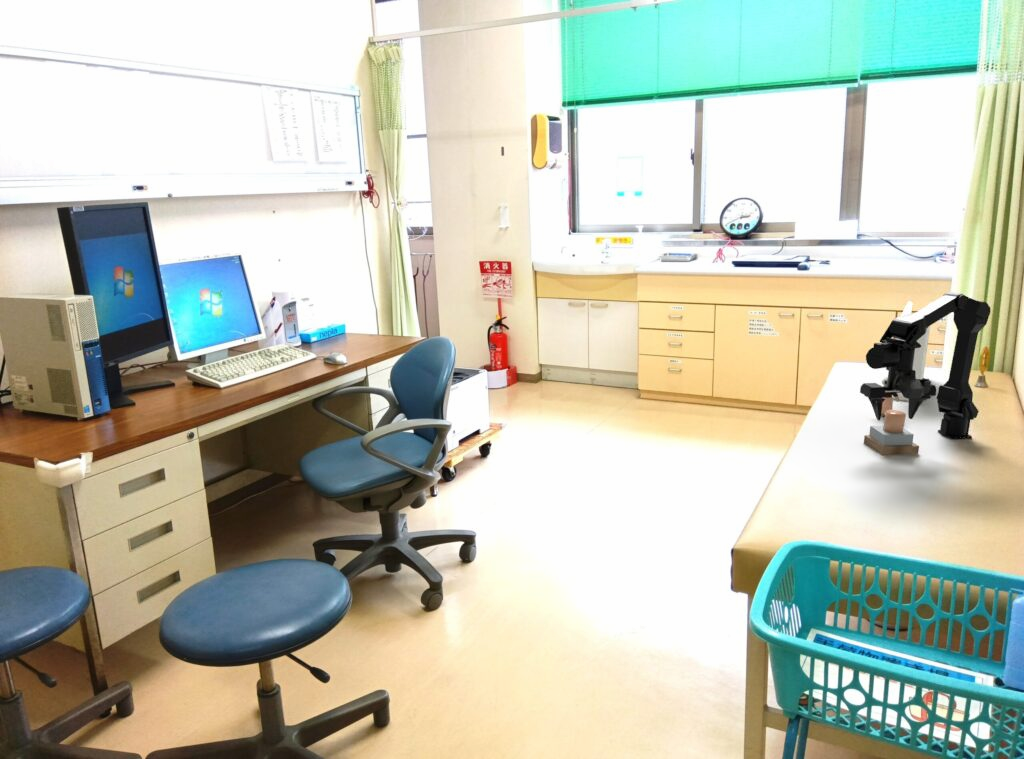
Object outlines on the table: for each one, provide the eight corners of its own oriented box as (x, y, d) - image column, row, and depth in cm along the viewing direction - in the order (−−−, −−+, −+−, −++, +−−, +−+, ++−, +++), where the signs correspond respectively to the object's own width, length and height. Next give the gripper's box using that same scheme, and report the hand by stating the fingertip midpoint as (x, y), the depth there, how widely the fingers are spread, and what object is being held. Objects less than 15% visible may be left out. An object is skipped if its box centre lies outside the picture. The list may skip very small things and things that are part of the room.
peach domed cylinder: (896, 426, 212) (899, 409, 210) (906, 432, 207) (909, 415, 206) (879, 426, 212) (881, 410, 210) (889, 433, 207) (892, 416, 205)
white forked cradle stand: (916, 401, 253) (927, 319, 245) (890, 398, 257) (900, 317, 249) (923, 377, 282) (933, 303, 274) (899, 374, 286) (908, 301, 278)
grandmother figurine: (896, 414, 240) (901, 376, 236) (897, 418, 236) (902, 379, 233) (869, 412, 242) (874, 374, 239) (870, 416, 239) (875, 377, 235)
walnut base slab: (897, 443, 216) (898, 433, 216) (917, 456, 207) (919, 446, 206) (863, 445, 216) (864, 435, 215) (882, 457, 206) (883, 447, 205)
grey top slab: (897, 435, 214) (898, 425, 214) (912, 444, 207) (913, 434, 206) (869, 435, 214) (870, 425, 213) (883, 445, 207) (884, 435, 206)
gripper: (884, 373, 196) (877, 430, 200) (953, 370, 198) (945, 427, 202) (862, 363, 207) (856, 417, 211) (927, 360, 208) (920, 414, 213)
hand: (894, 419), depth 209 cm, fingers open, 9 cm apart
